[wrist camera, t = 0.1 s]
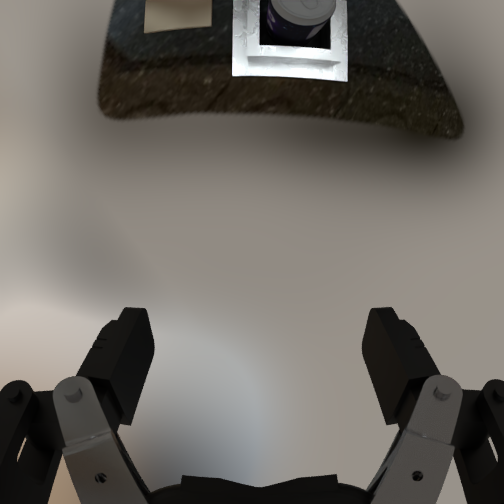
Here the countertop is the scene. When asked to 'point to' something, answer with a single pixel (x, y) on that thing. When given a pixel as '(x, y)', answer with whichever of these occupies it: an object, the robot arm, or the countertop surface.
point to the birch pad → (177, 15)
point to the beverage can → (297, 20)
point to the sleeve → (288, 48)
